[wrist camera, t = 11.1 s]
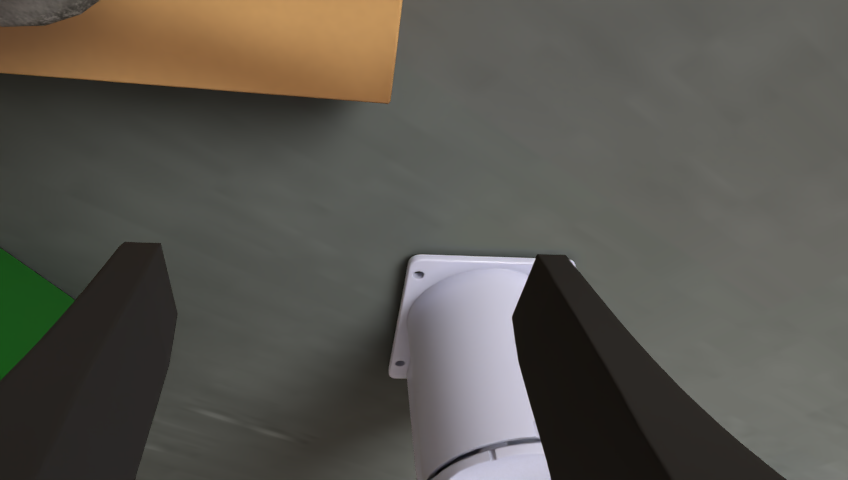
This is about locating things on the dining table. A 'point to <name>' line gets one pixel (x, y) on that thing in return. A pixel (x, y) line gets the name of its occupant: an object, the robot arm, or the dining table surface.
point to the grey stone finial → (40, 11)
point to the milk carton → (25, 310)
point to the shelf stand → (220, 46)
